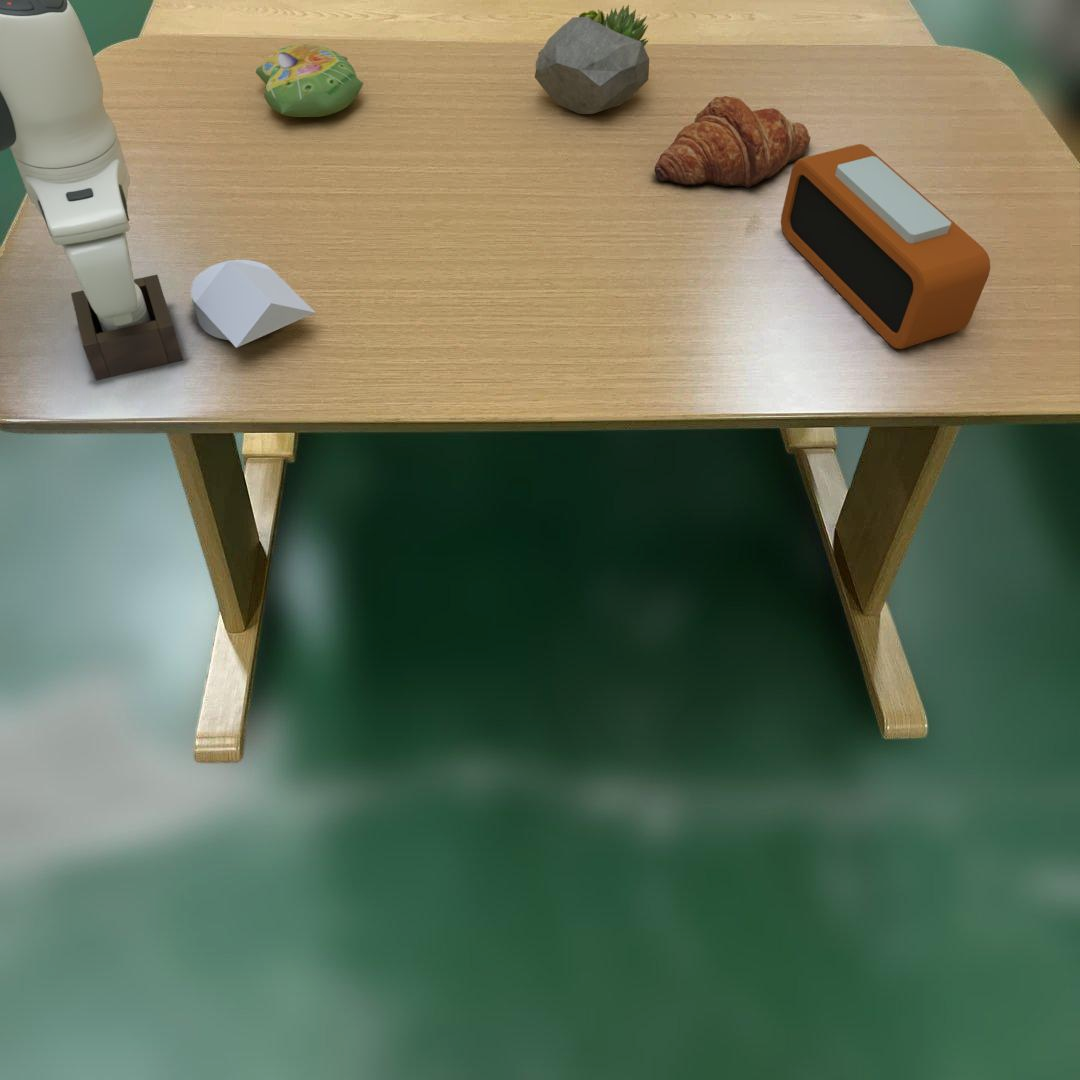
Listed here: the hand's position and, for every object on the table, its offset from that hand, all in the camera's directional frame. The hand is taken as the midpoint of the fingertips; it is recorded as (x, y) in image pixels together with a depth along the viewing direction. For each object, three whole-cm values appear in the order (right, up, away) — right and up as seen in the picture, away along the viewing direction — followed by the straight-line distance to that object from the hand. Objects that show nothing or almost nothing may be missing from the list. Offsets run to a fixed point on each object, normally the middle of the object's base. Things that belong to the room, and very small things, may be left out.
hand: (116, 295), depth 109 cm
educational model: (+12, +33, +36) cm, 50 cm away
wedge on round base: (+11, -1, +8) cm, 14 cm away
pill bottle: (0, -4, +5) cm, 6 cm away
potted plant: (+49, +34, +38) cm, 71 cm away
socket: (0, -4, +5) cm, 6 cm away
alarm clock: (+78, +5, +15) cm, 80 cm away
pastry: (+66, +23, +29) cm, 75 cm away
